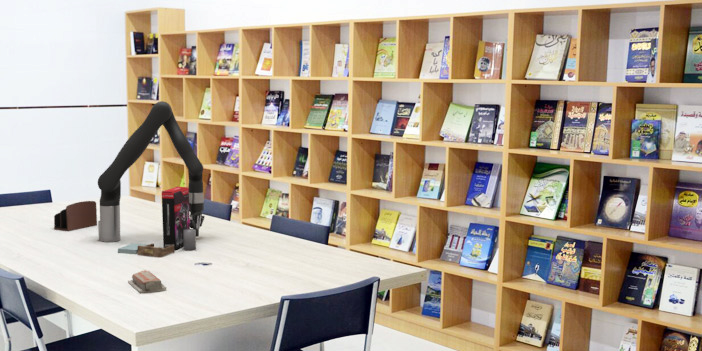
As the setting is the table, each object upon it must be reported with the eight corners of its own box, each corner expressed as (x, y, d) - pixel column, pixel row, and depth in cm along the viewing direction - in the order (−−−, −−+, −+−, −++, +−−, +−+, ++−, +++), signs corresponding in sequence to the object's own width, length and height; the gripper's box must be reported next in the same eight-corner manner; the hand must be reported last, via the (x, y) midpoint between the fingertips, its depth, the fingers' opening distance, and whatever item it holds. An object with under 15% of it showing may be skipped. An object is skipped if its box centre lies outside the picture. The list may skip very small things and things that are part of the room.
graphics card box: (175, 250, 348) (175, 191, 345) (161, 249, 349) (160, 190, 346) (190, 243, 365) (190, 186, 361) (177, 242, 366) (176, 186, 363)
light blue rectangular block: (118, 254, 342) (117, 248, 341) (132, 248, 354) (132, 243, 354) (136, 255, 340) (136, 250, 339) (150, 249, 352) (150, 244, 352)
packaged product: (167, 278, 281) (140, 282, 276) (167, 291, 282) (140, 295, 277) (153, 268, 297) (127, 271, 292) (153, 280, 297) (127, 283, 292)
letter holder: (97, 225, 405) (96, 199, 403) (67, 231, 387) (66, 204, 386) (83, 223, 409) (83, 197, 408) (53, 229, 392) (53, 202, 390)
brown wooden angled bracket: (137, 254, 338) (137, 246, 338) (152, 249, 349) (151, 241, 348) (160, 257, 334) (160, 248, 334) (174, 252, 345) (174, 243, 344)
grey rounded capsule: (181, 250, 349) (180, 230, 348) (187, 247, 355) (187, 228, 354) (191, 251, 348) (191, 231, 347) (198, 248, 353) (198, 229, 352)
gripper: (196, 199, 379) (196, 233, 381) (181, 202, 367) (182, 238, 369) (209, 200, 377) (209, 234, 379) (195, 203, 364) (195, 239, 366)
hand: (196, 236), depth 374 cm, fingers closed
